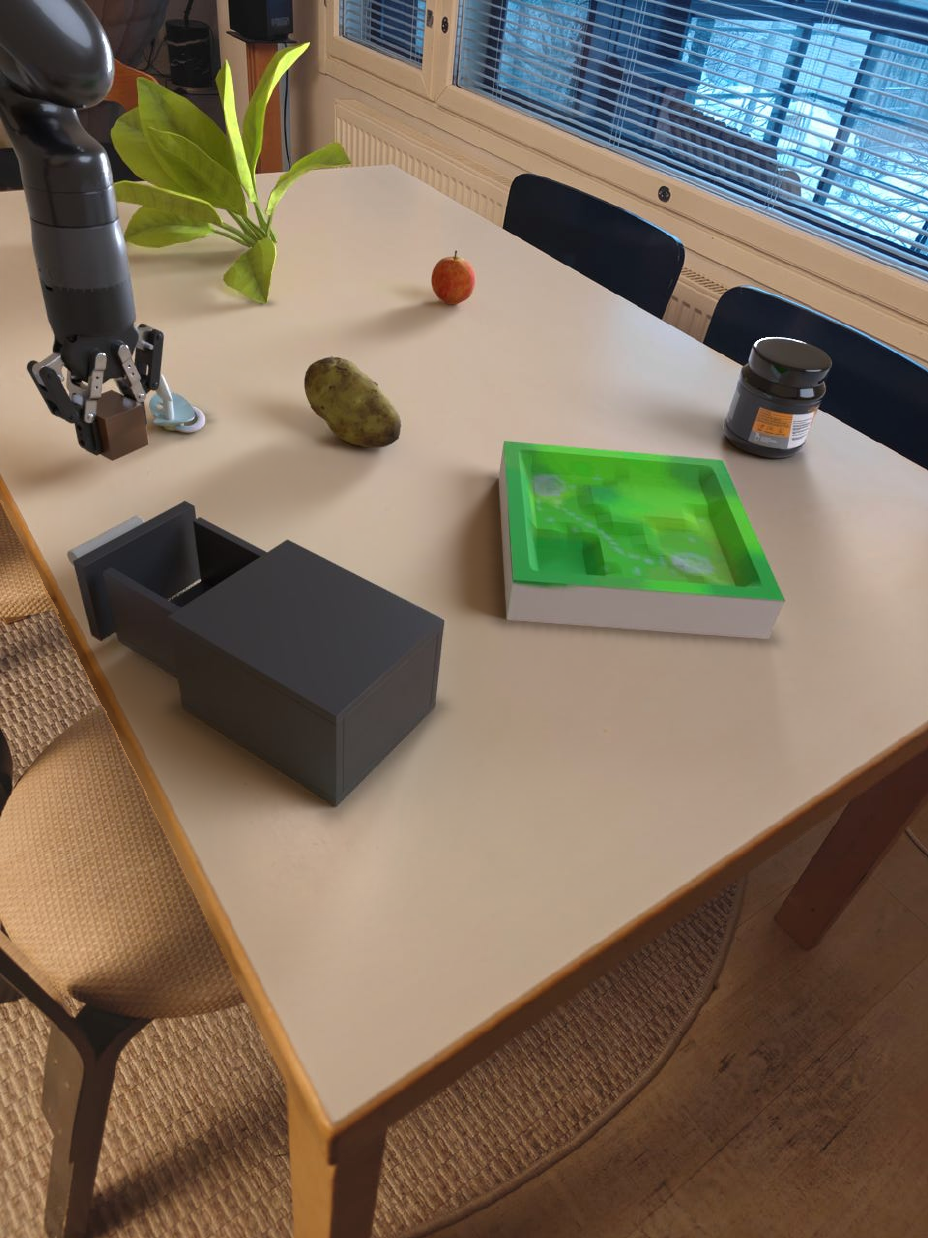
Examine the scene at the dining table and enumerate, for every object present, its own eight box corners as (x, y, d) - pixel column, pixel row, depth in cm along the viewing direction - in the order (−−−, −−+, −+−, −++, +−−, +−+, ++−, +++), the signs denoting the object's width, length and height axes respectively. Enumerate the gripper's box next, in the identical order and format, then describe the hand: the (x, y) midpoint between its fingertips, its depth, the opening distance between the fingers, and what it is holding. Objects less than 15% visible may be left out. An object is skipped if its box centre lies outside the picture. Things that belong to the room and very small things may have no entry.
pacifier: (199, 407, 105) (148, 410, 102) (196, 358, 101) (142, 360, 98) (210, 436, 100) (156, 440, 98) (207, 386, 96) (150, 389, 94)
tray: (710, 497, 101) (722, 460, 97) (767, 641, 82) (785, 600, 78) (498, 479, 99) (503, 440, 96) (506, 621, 80) (513, 579, 77)
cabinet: (182, 708, 68) (167, 616, 62) (291, 627, 76) (287, 538, 70) (336, 807, 62) (336, 717, 56) (435, 707, 70) (445, 619, 64)
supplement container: (804, 468, 108) (841, 378, 100) (720, 451, 109) (750, 361, 101) (799, 430, 115) (832, 344, 108) (720, 414, 117) (748, 328, 109)
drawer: (56, 613, 73) (35, 538, 68) (161, 552, 81) (149, 481, 76) (217, 715, 66) (207, 641, 61) (315, 639, 74) (313, 567, 69)
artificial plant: (153, 250, 160) (25, 103, 135) (347, 116, 154) (250, -63, 129) (196, 389, 138) (51, 244, 113) (425, 239, 132) (326, 50, 107)
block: (112, 461, 85) (104, 419, 82) (82, 445, 86) (73, 404, 83) (148, 444, 88) (142, 404, 85) (118, 429, 89) (111, 389, 86)
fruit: (466, 313, 135) (472, 261, 130) (424, 305, 136) (428, 253, 131) (477, 299, 140) (483, 248, 135) (436, 291, 141) (440, 240, 136)
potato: (345, 465, 98) (345, 400, 92) (295, 415, 105) (293, 352, 100) (407, 450, 101) (411, 387, 96) (355, 403, 109) (356, 342, 104)
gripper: (121, 242, 82) (145, 407, 93) (-18, 276, 72) (28, 455, 83) (177, 263, 79) (195, 430, 90) (40, 301, 70) (79, 483, 80)
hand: (115, 441), depth 87 cm, fingers closed on block, 4 cm apart
